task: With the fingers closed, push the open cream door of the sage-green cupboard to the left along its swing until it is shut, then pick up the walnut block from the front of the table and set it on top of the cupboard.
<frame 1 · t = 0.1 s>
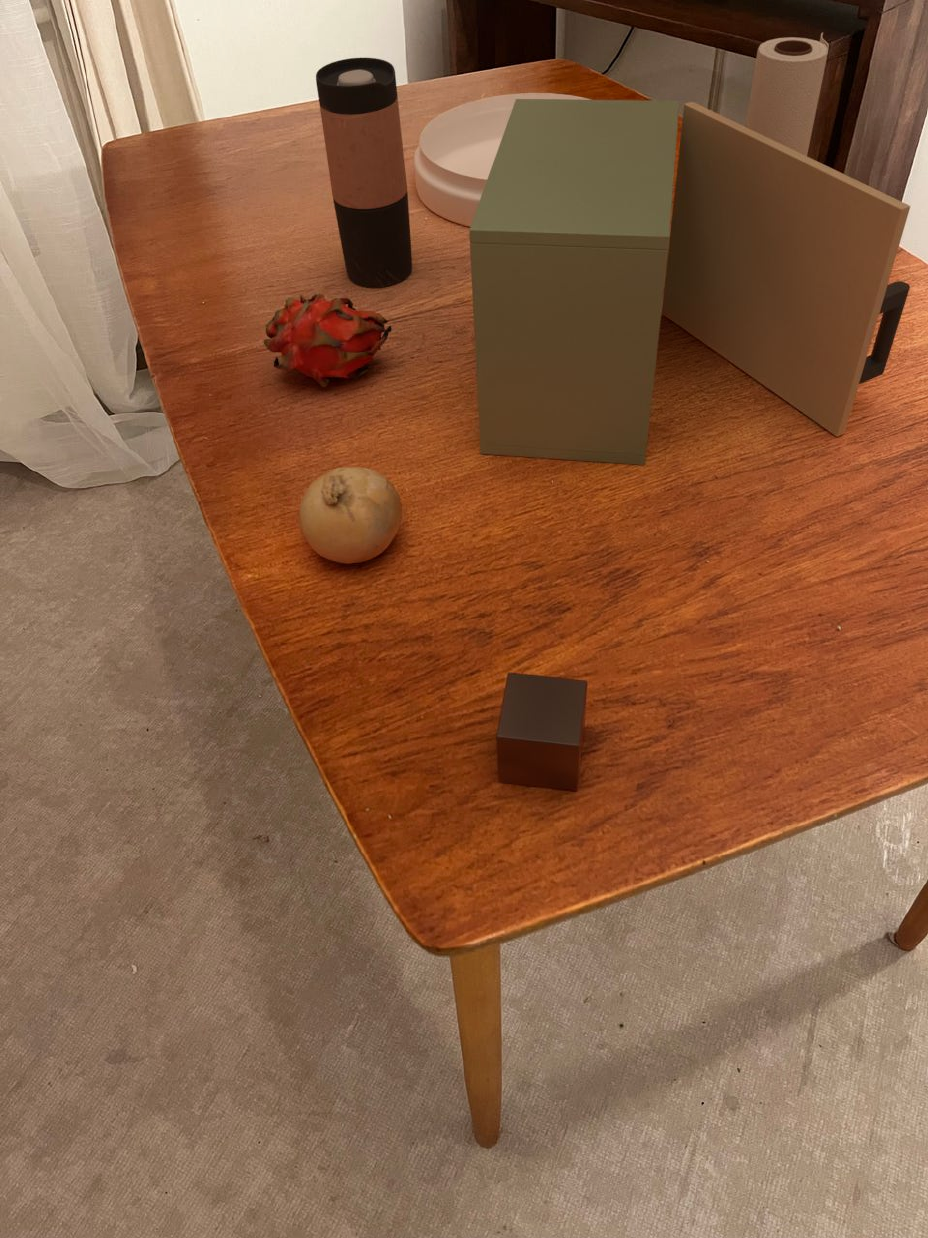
block: (542, 754, 63), on the table
plate: (526, 181, 120), on the table
travel mug: (380, 272, 106), on the table
onion: (356, 543, 78), on the table
cupboard: (575, 378, 91), on the table
cupboard door: (790, 259, 84), point 10 cm above the table, hinge at 40.0°
paper towel roll: (758, 273, 102), on the table
dragon fruit: (334, 372, 94), on the table
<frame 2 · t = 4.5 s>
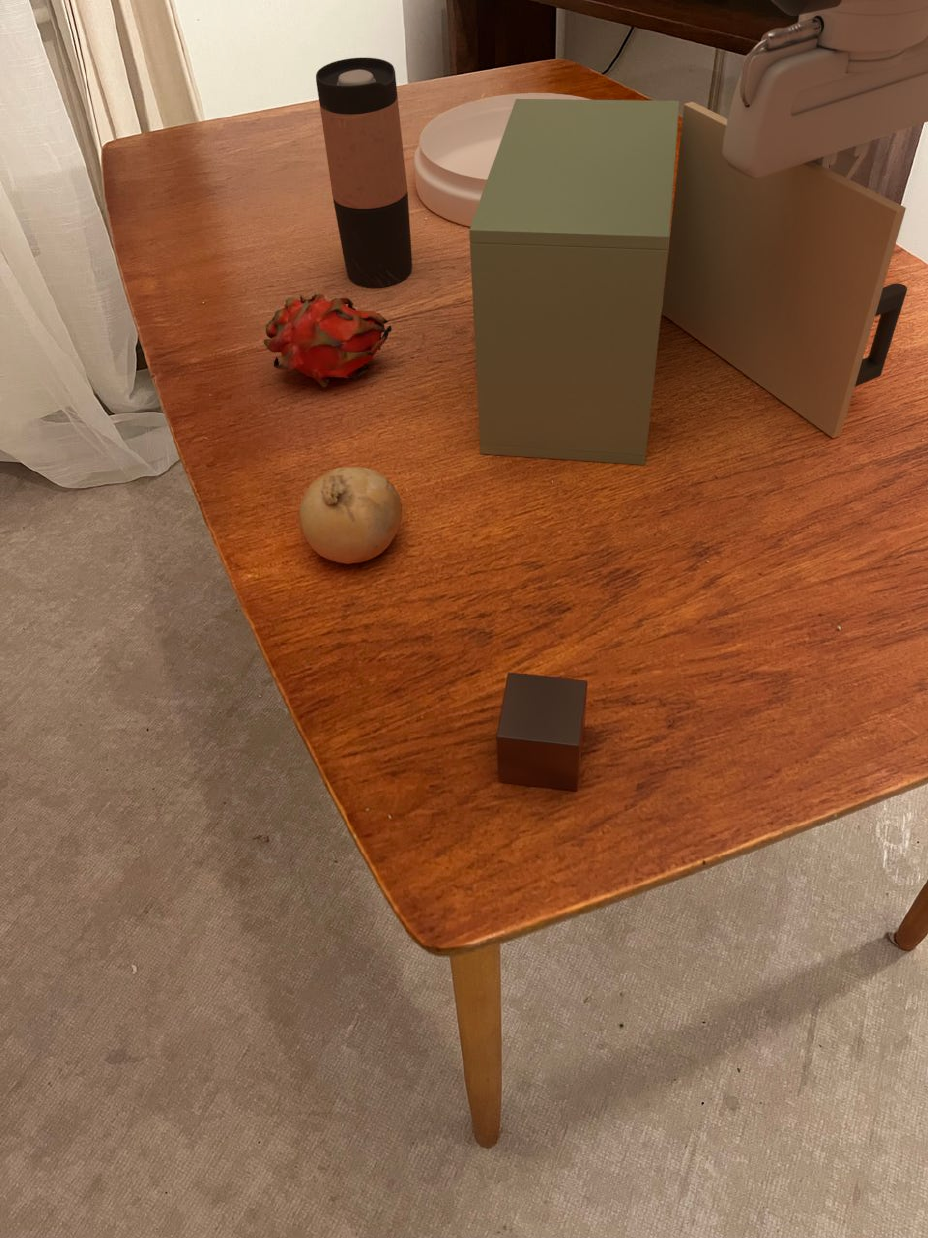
hand: (824, 201, 78), 16 cm above the table, tool pointing down, fingers closed
cupboard door: (788, 260, 84), point 10 cm above the table, hinge at 38.9°, touching gripper
everything else where it was.
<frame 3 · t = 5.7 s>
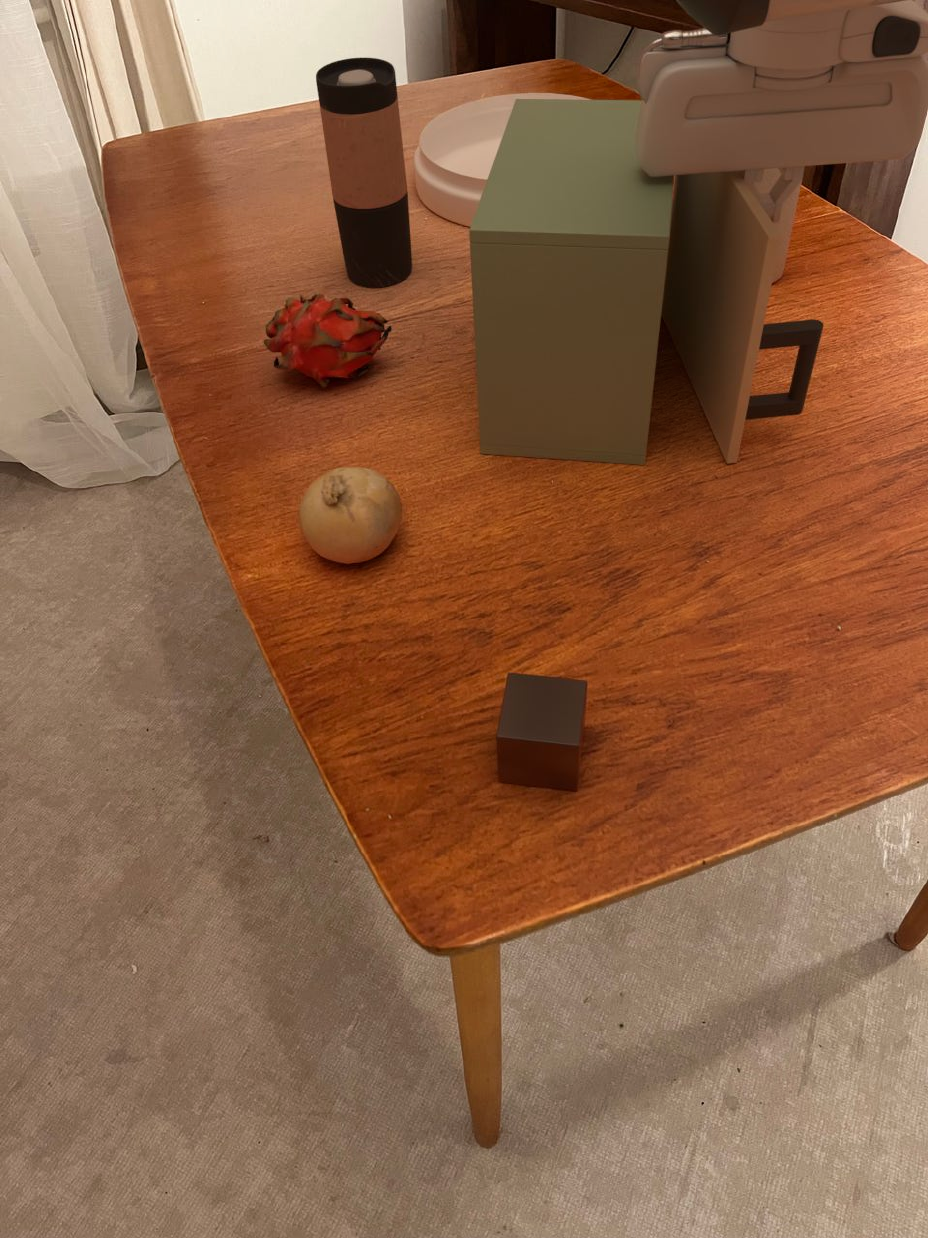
hand: (761, 221, 76), 16 cm above the table, tool pointing down, fingers closed
cupboard door: (743, 277, 82), point 10 cm above the table, hinge at 15.4°, touching gripper
everything else where it was.
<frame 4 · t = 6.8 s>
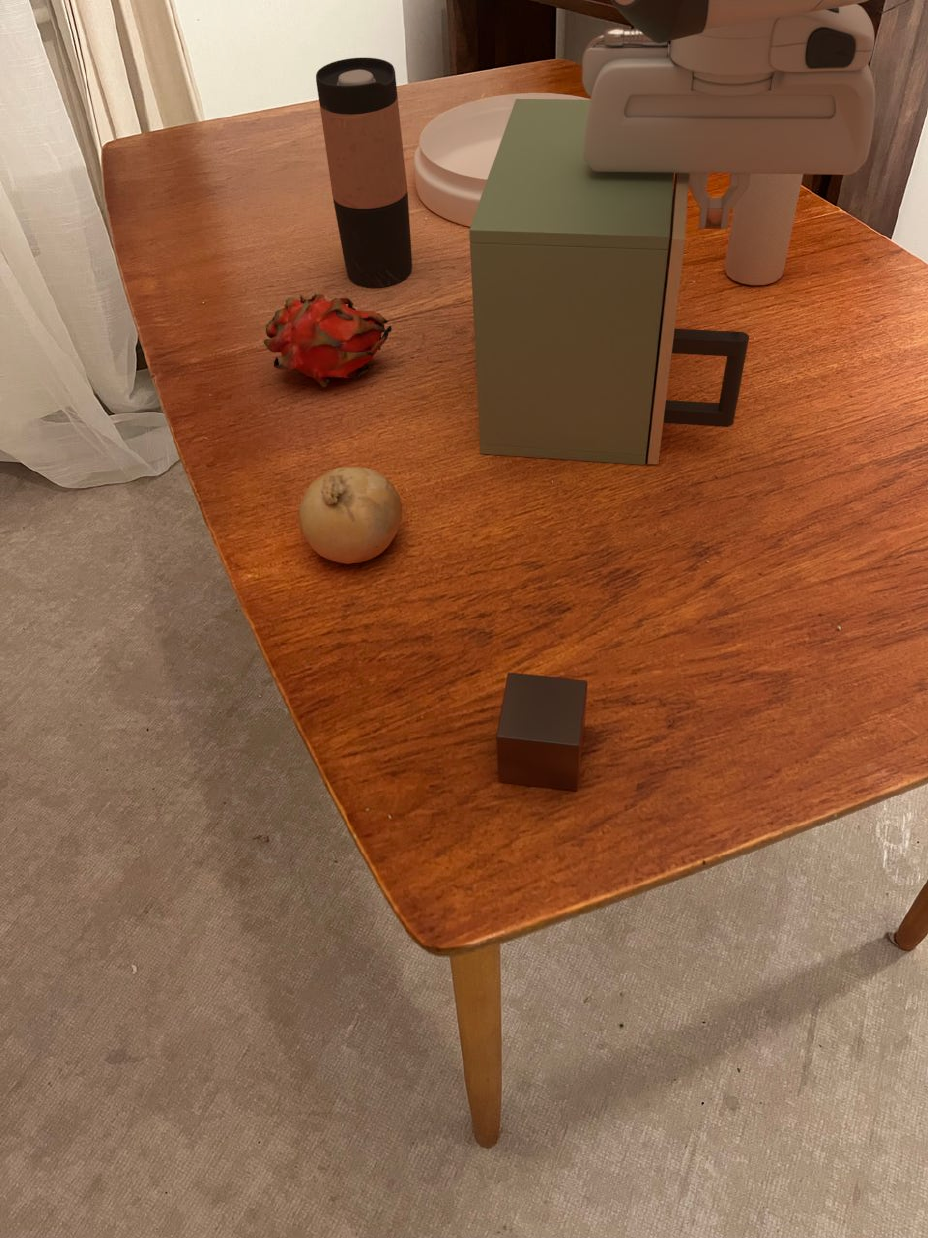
hand: (712, 225, 76), 16 cm above the table, tool pointing down, fingers closed
cupboard door: (705, 283, 82), point 10 cm above the table, hinge at -0.2°, touching gripper
everything else where it was.
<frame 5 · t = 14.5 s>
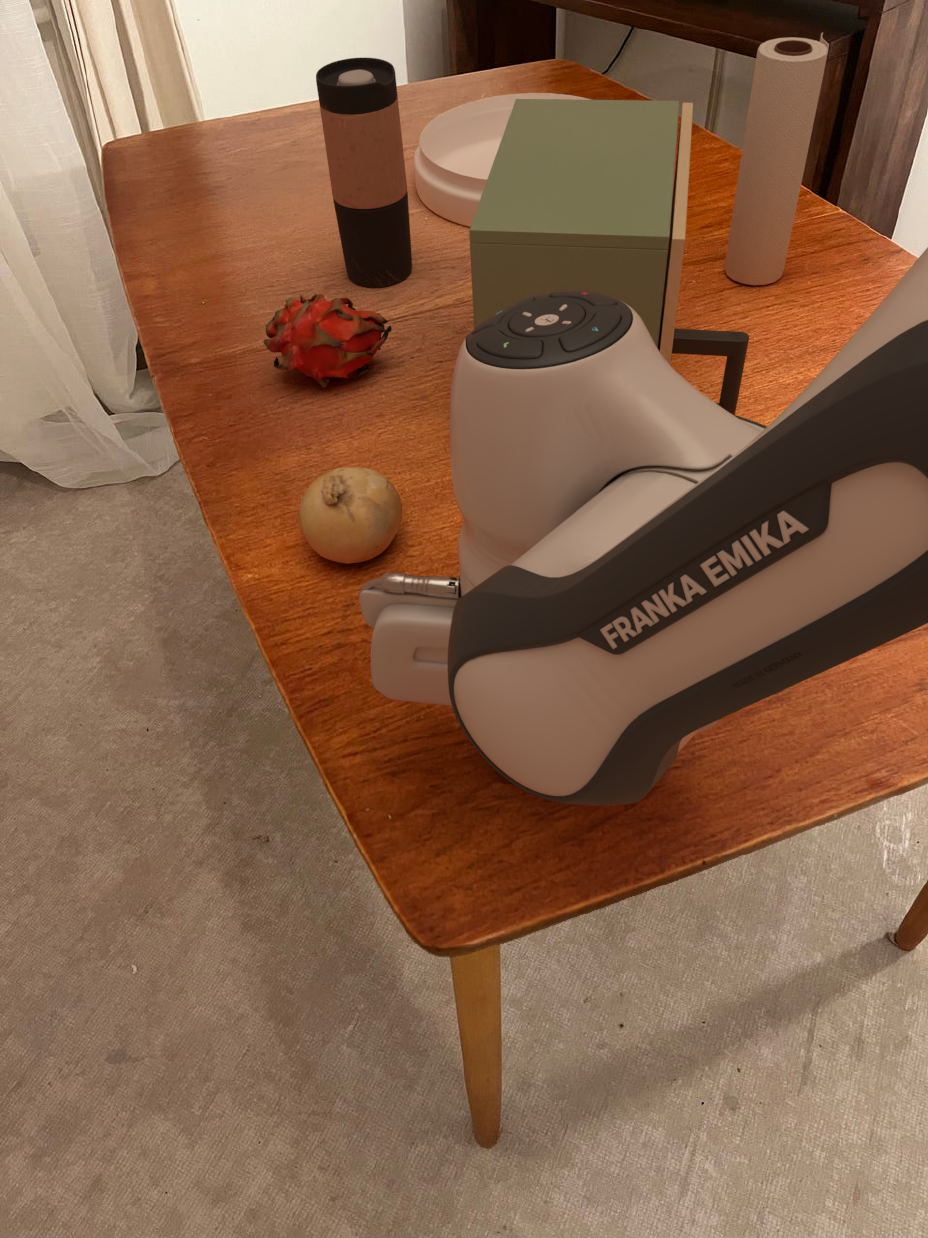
hand: (542, 740, 62), 2 cm above the table, tool pointing down, fingers closed on block, 5 cm apart
block: (542, 754, 63), on the table, touching gripper
cupboard door: (705, 283, 82), point 10 cm above the table, hinge at -0.2°
everything else where it was.
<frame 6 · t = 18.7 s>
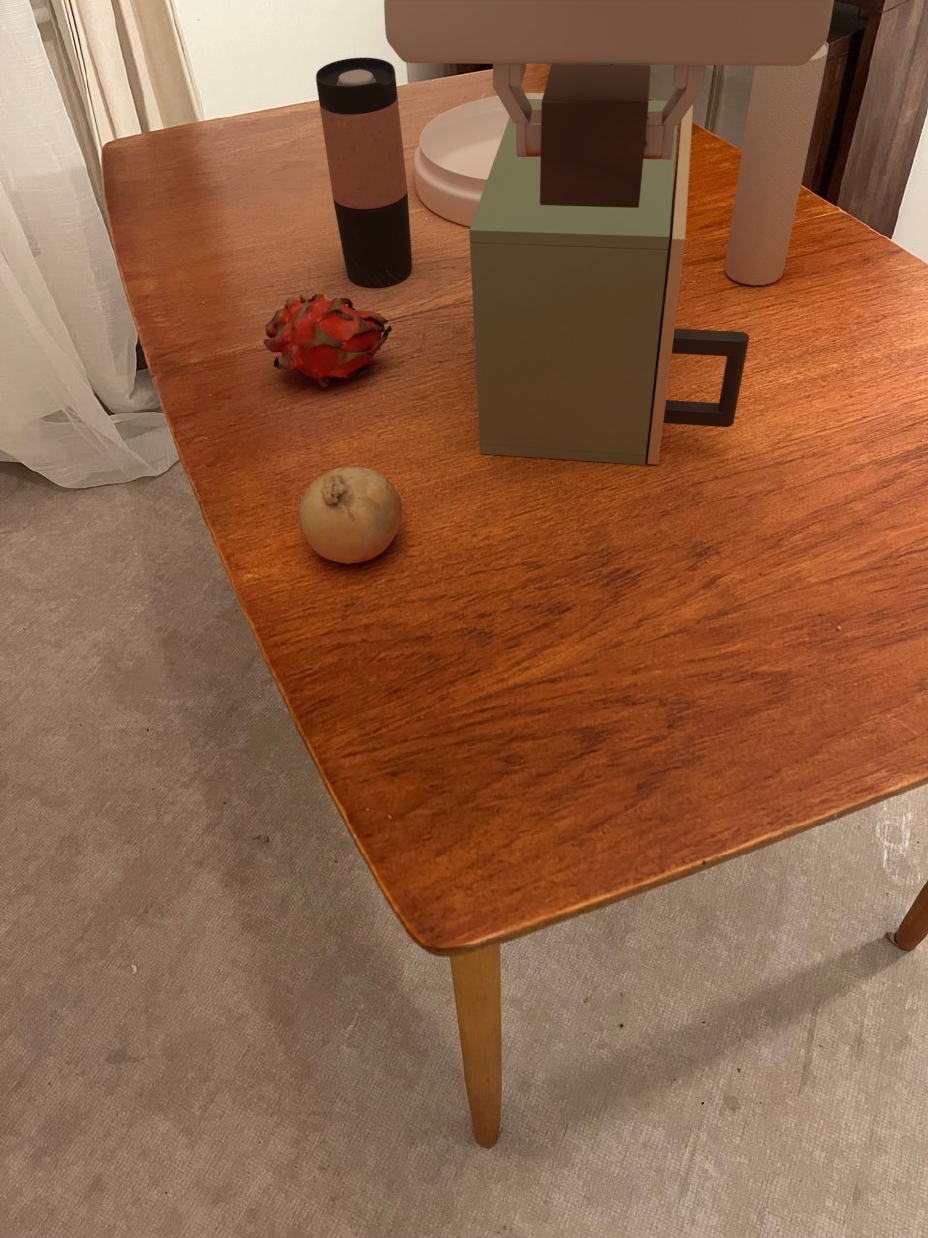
hand: (594, 154, 50), 31 cm above the table, tool pointing down, fingers closed on block, 5 cm apart
block: (592, 185, 51), point 30 cm above the table, touching gripper
everything else where it was.
when the fingers open (21 cm above the table, at t = 22.8 s): block stays where it is, resting on cupboard.
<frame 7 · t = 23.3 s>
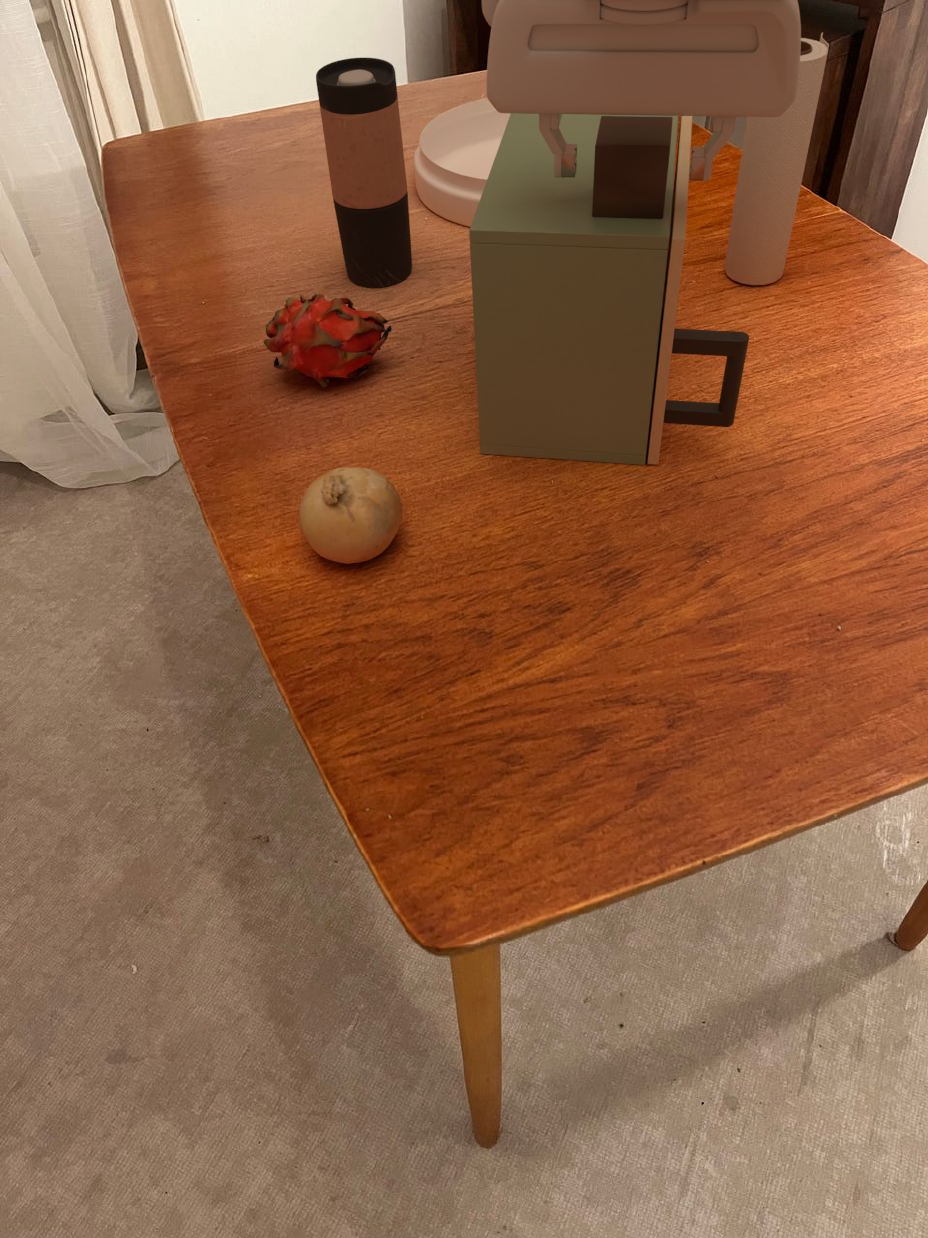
hand: (631, 175, 70), 22 cm above the table, tool pointing down, fingers open, 8 cm apart
block: (629, 202, 71), point 20 cm above the table, touching cupboard
everything else where it was.
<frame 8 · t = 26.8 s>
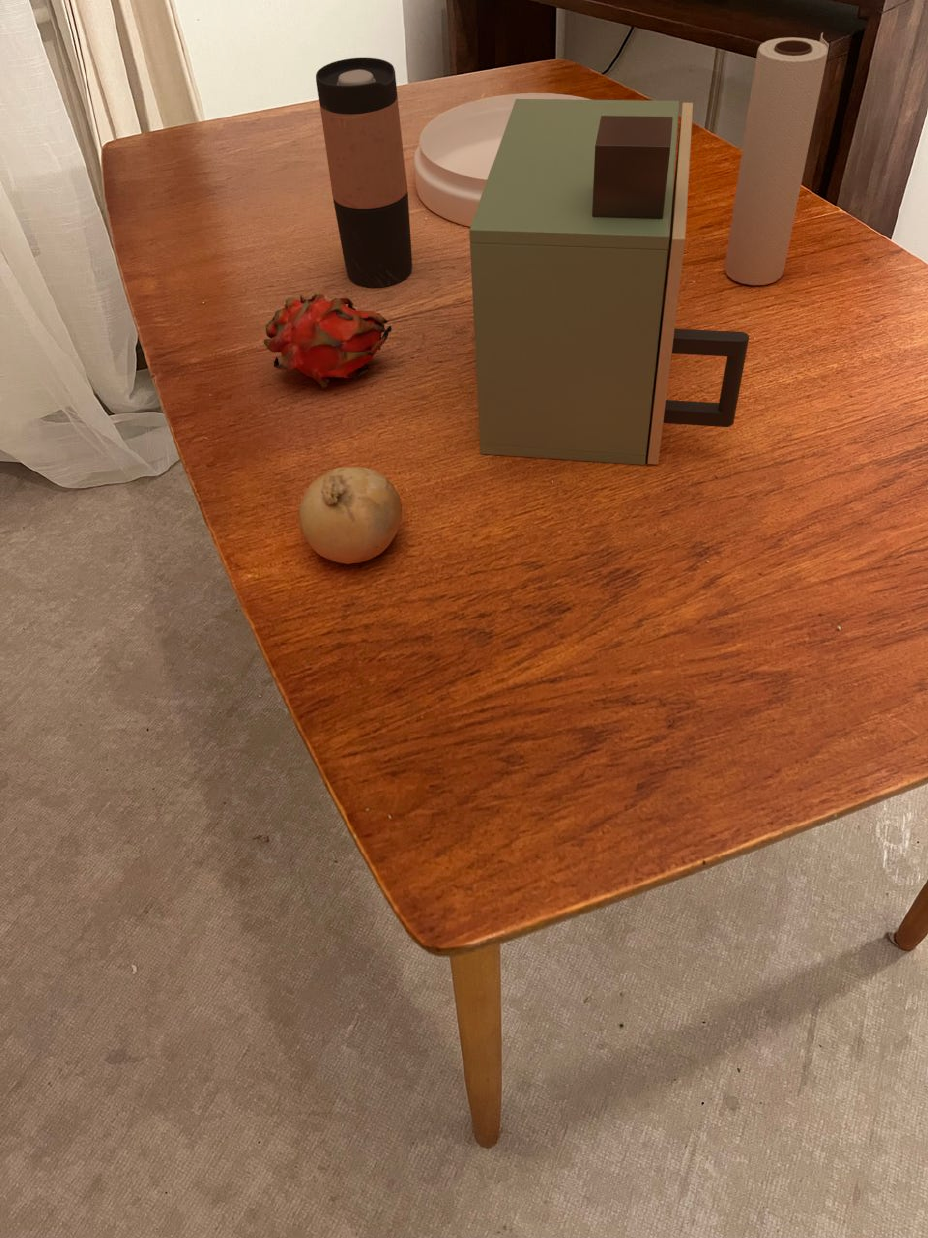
nothing on the table moved.
at the end: cupboard door at +0° (first picture: +40°); block inside the target area on the cupboard (8.1 cm from its centre), point 20.0 cm above the cupboard's base; block tilted 0° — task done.
